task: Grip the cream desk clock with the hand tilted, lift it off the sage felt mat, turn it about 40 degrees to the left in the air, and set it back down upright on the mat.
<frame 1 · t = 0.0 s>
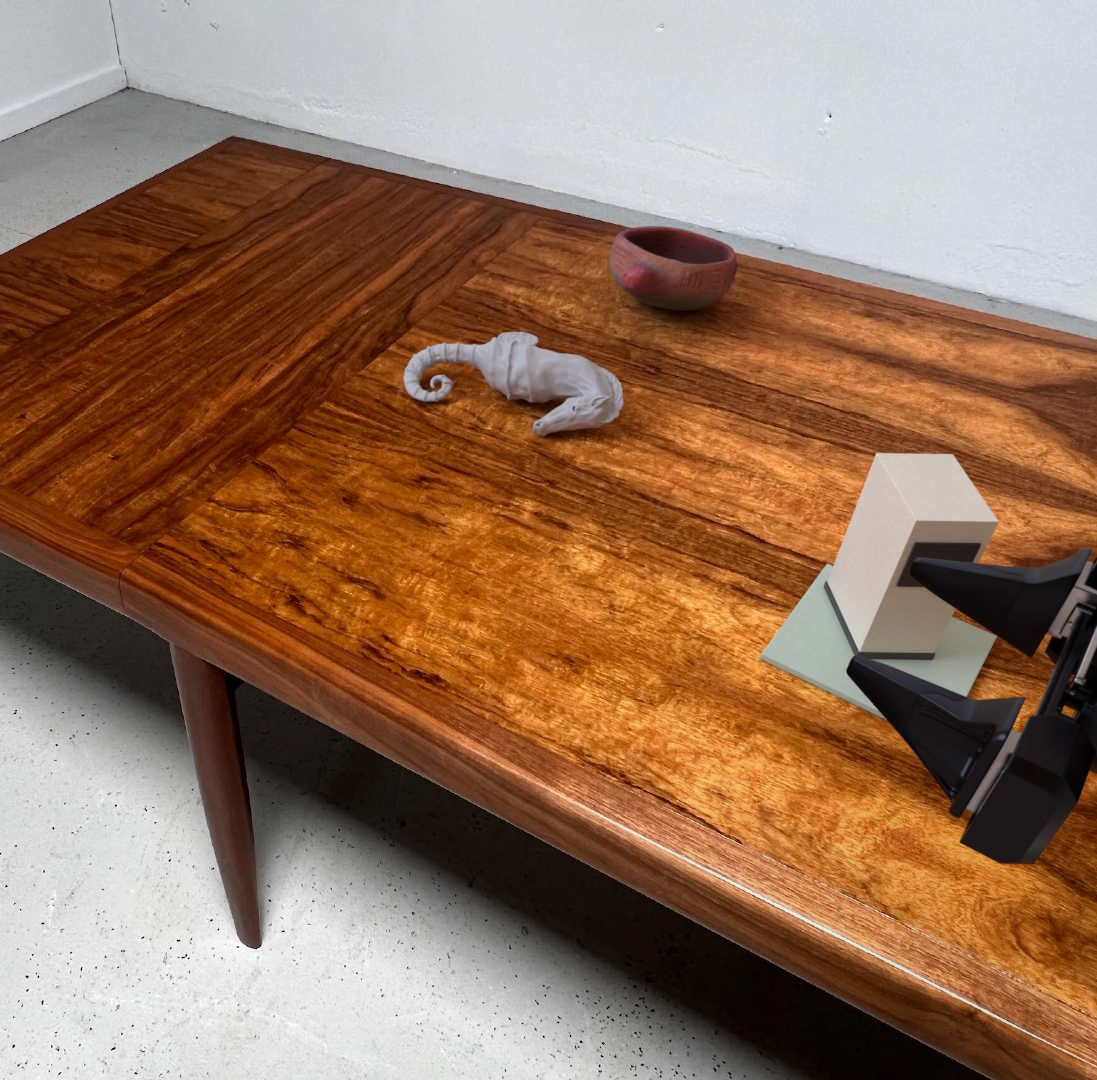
hand: (882, 611, 54), 15 cm above the table, tool horizontal, fingers open, 9 cm apart
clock: (875, 622, 74), resting on mat
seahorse: (508, 404, 96), on the table
bowl: (665, 312, 110), on the table
mat: (878, 649, 73), on the table
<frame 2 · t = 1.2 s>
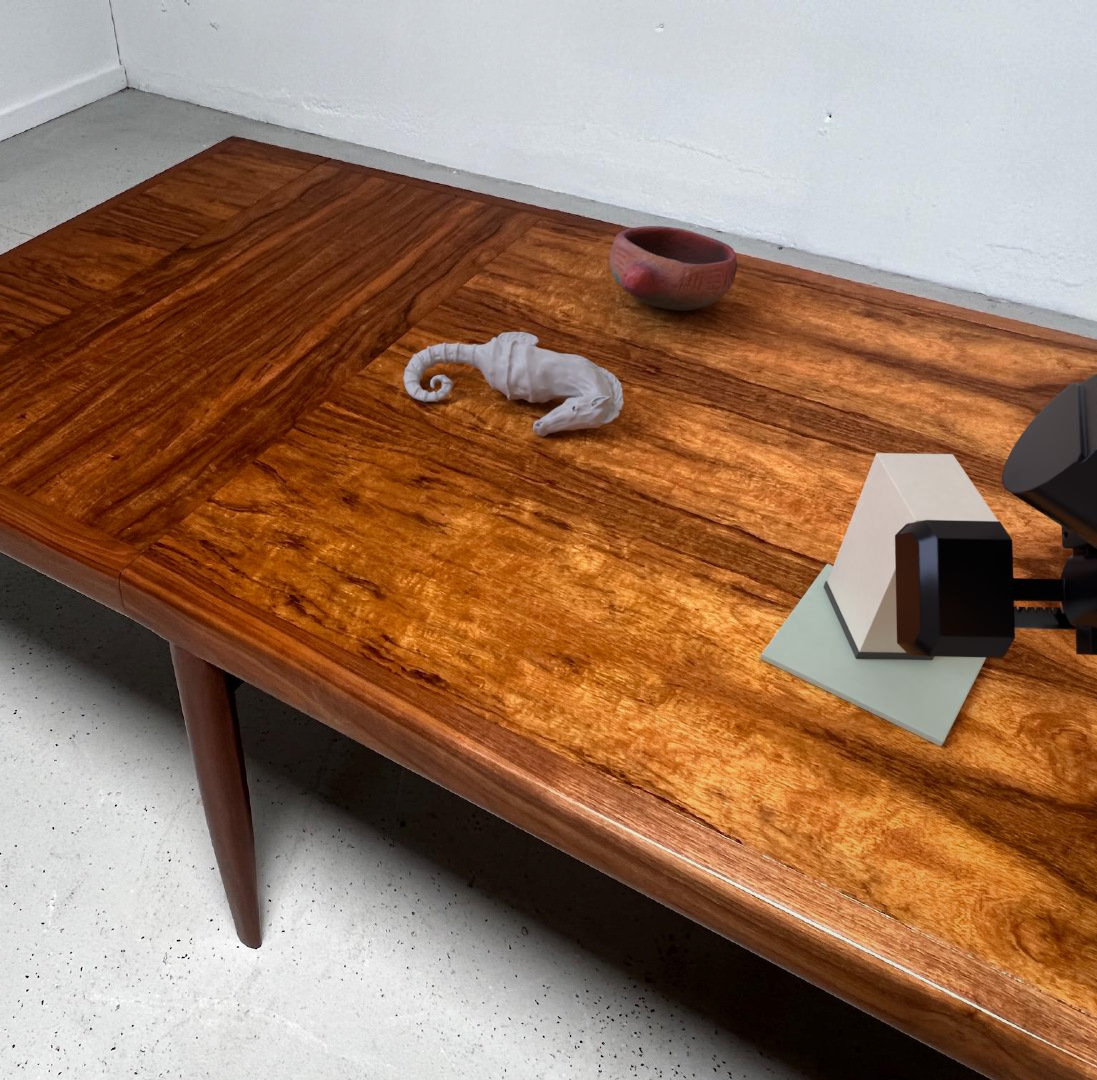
hand: (1003, 597, 57), 14 cm above the table, tool tilted 45°, fingers open, 9 cm apart
nothing on the table moved.
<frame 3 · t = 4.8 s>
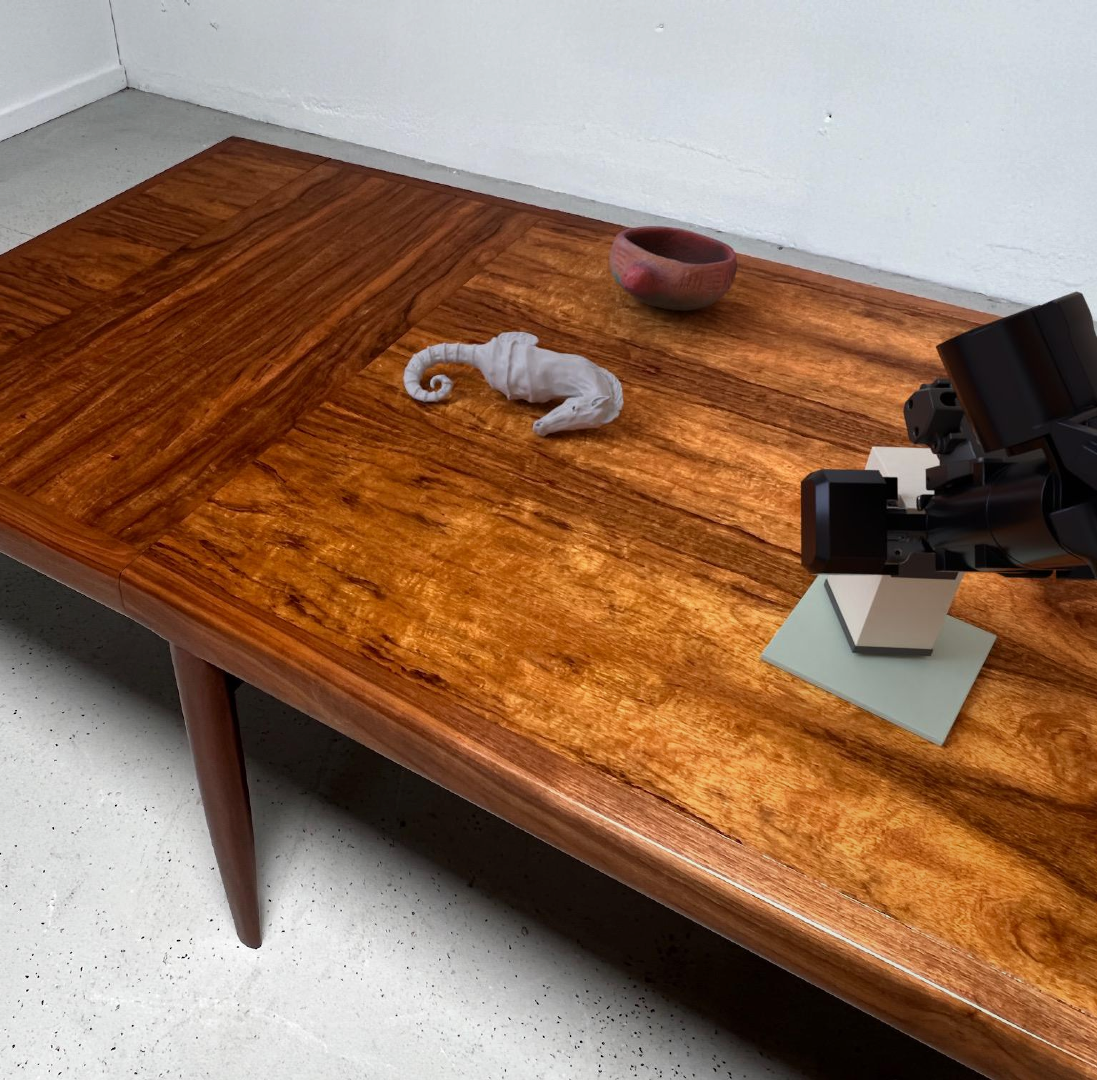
hand: (896, 535, 71), 7 cm above the table, tool tilted 45°, fingers closed on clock, 5 cm apart
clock: (875, 619, 74), point 1 cm above the table, touching gripper, mat
everything else where it was.
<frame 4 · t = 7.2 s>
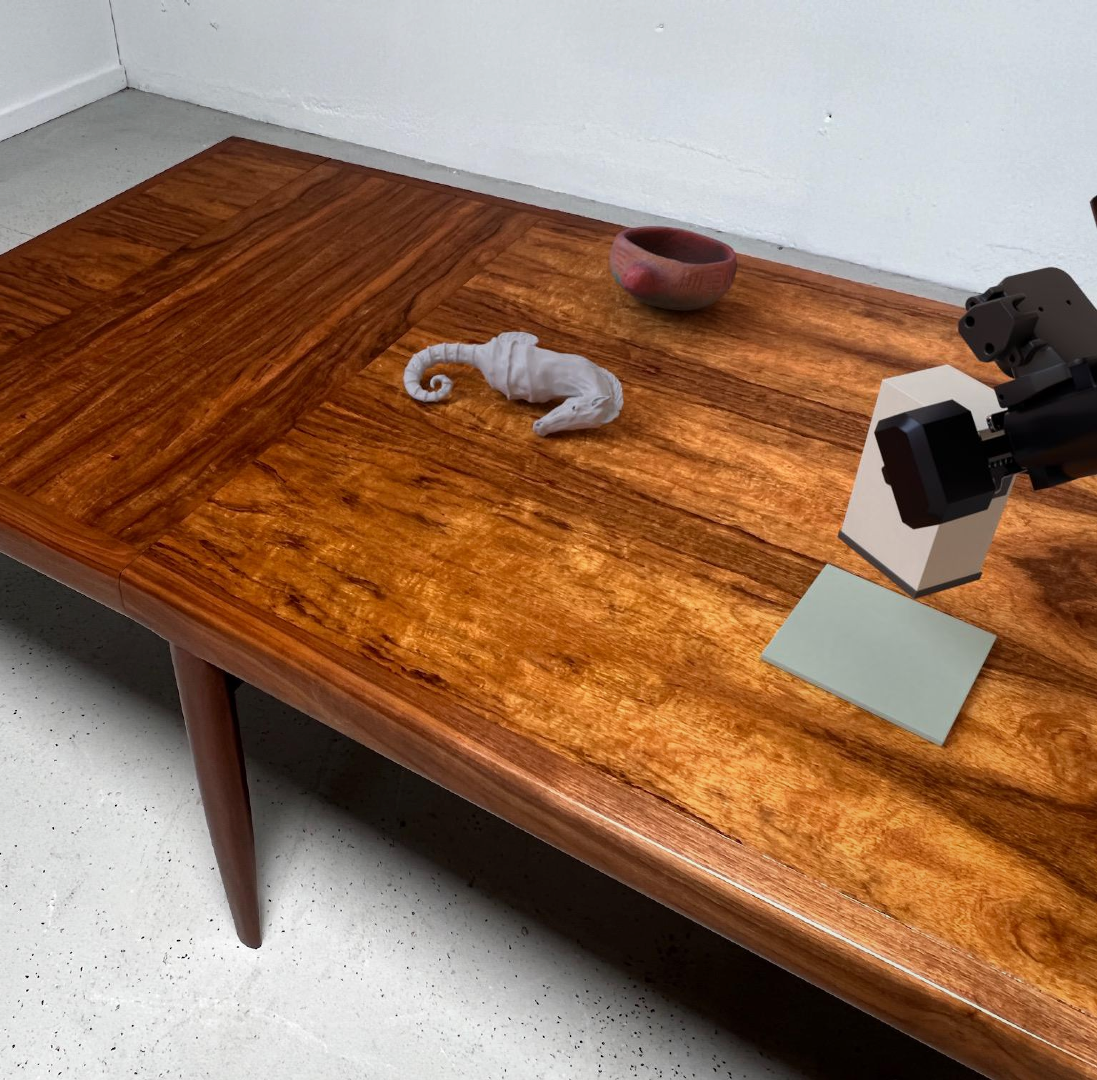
hand: (918, 465, 67), 13 cm above the table, tool tilted 45°, fingers closed on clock, 5 cm apart
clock: (906, 558, 70), point 7 cm above the table, touching gripper
everything else where it was.
when the fingers open (7 cm above the table, at t = 9.8 s): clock stays where it is, resting on mat.
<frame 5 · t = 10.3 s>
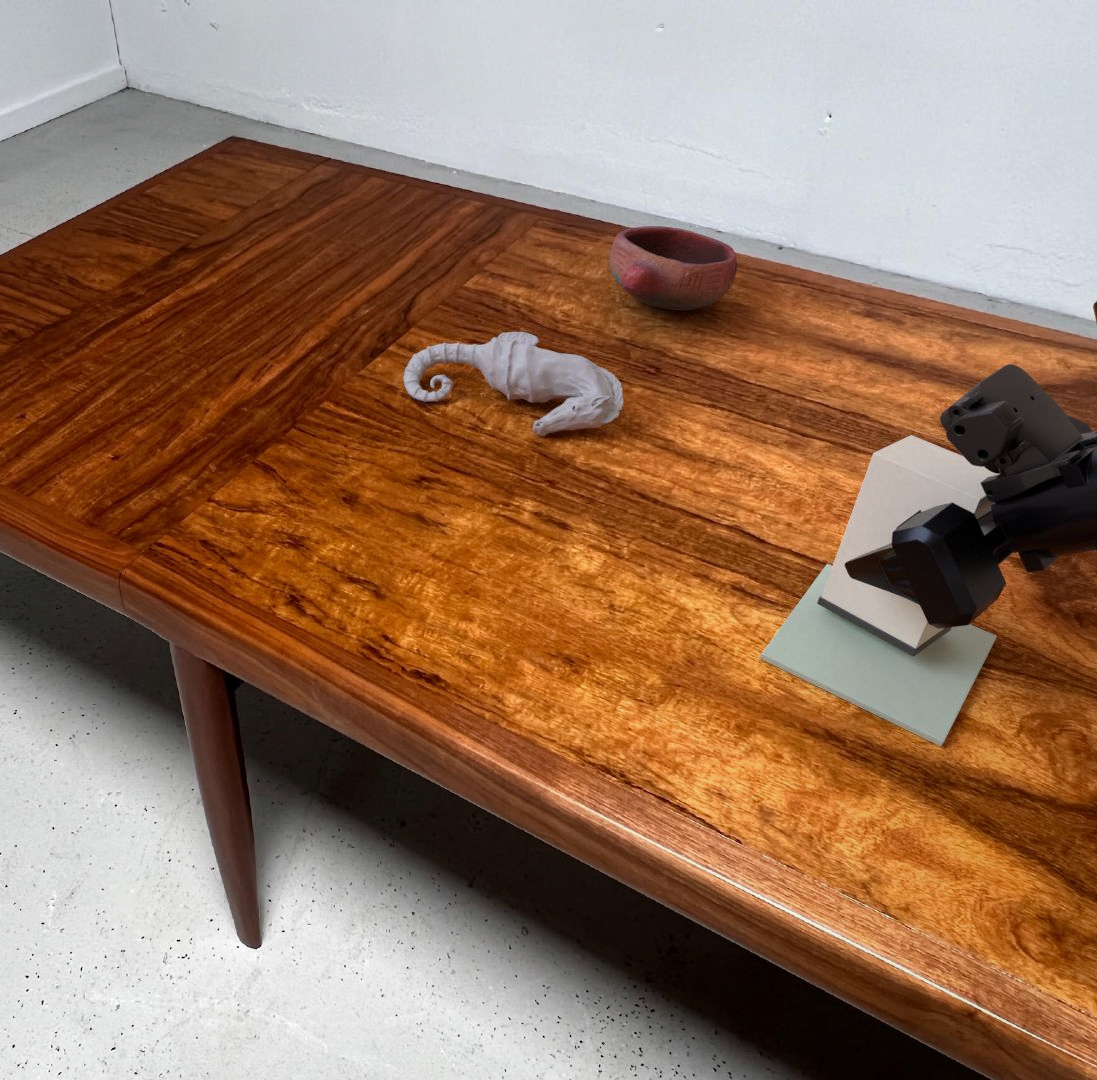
hand: (886, 541, 71), 7 cm above the table, tool tilted 45°, fingers open, 9 cm apart
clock: (882, 617, 74), point 1 cm above the table, tilted 9°, touching gripper, mat
everything else where it was.
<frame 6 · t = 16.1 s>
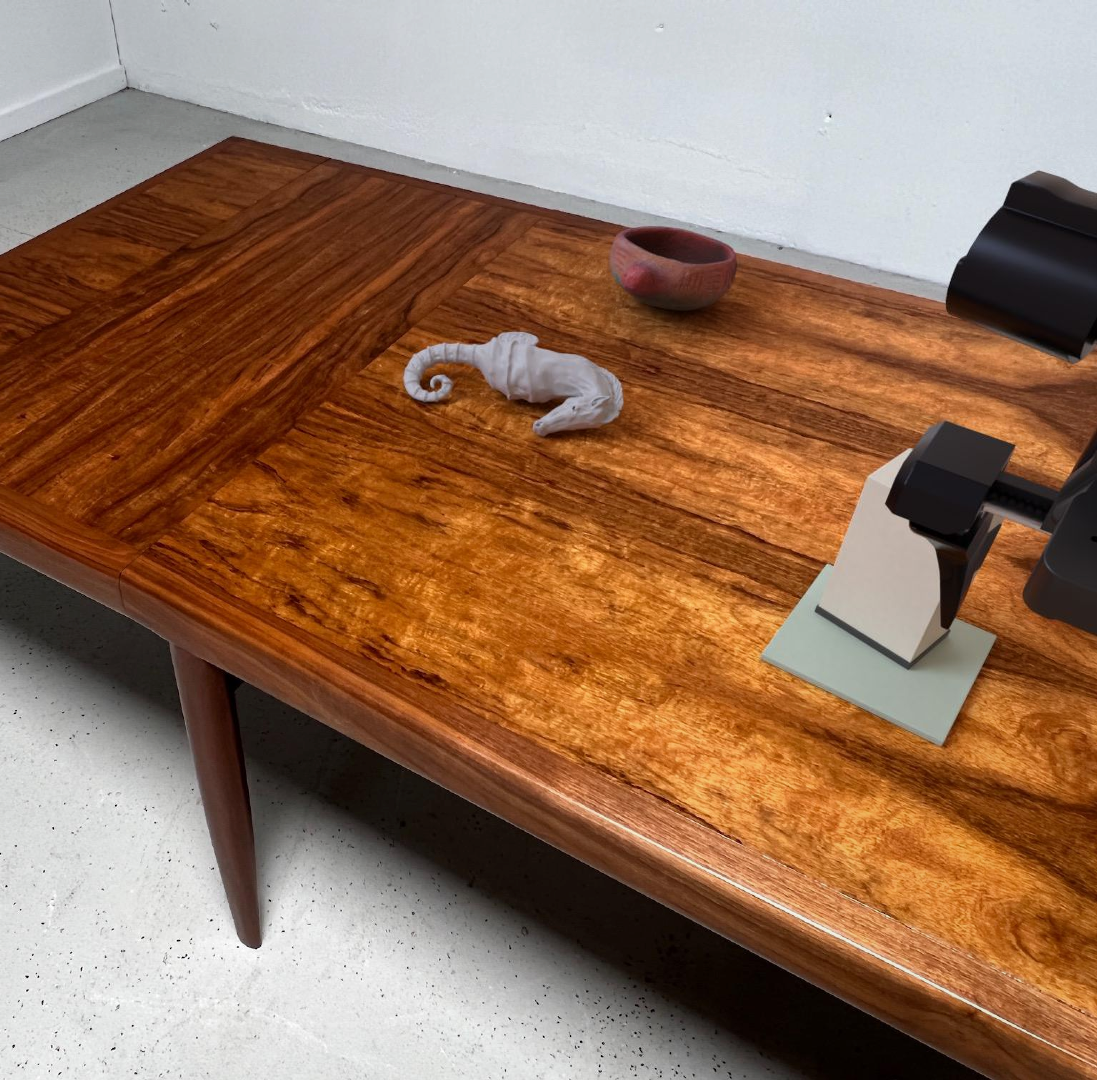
hand: (1039, 665, 54), 13 cm above the table, tool pointing down, fingers open, 9 cm apart
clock: (880, 623, 74), resting on mat
everything else where it was.
at the end: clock inside the target area on the mat (1.0 cm from its centre), point 0.5 cm above the mat's base; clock tilted 0°; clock touching mat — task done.
